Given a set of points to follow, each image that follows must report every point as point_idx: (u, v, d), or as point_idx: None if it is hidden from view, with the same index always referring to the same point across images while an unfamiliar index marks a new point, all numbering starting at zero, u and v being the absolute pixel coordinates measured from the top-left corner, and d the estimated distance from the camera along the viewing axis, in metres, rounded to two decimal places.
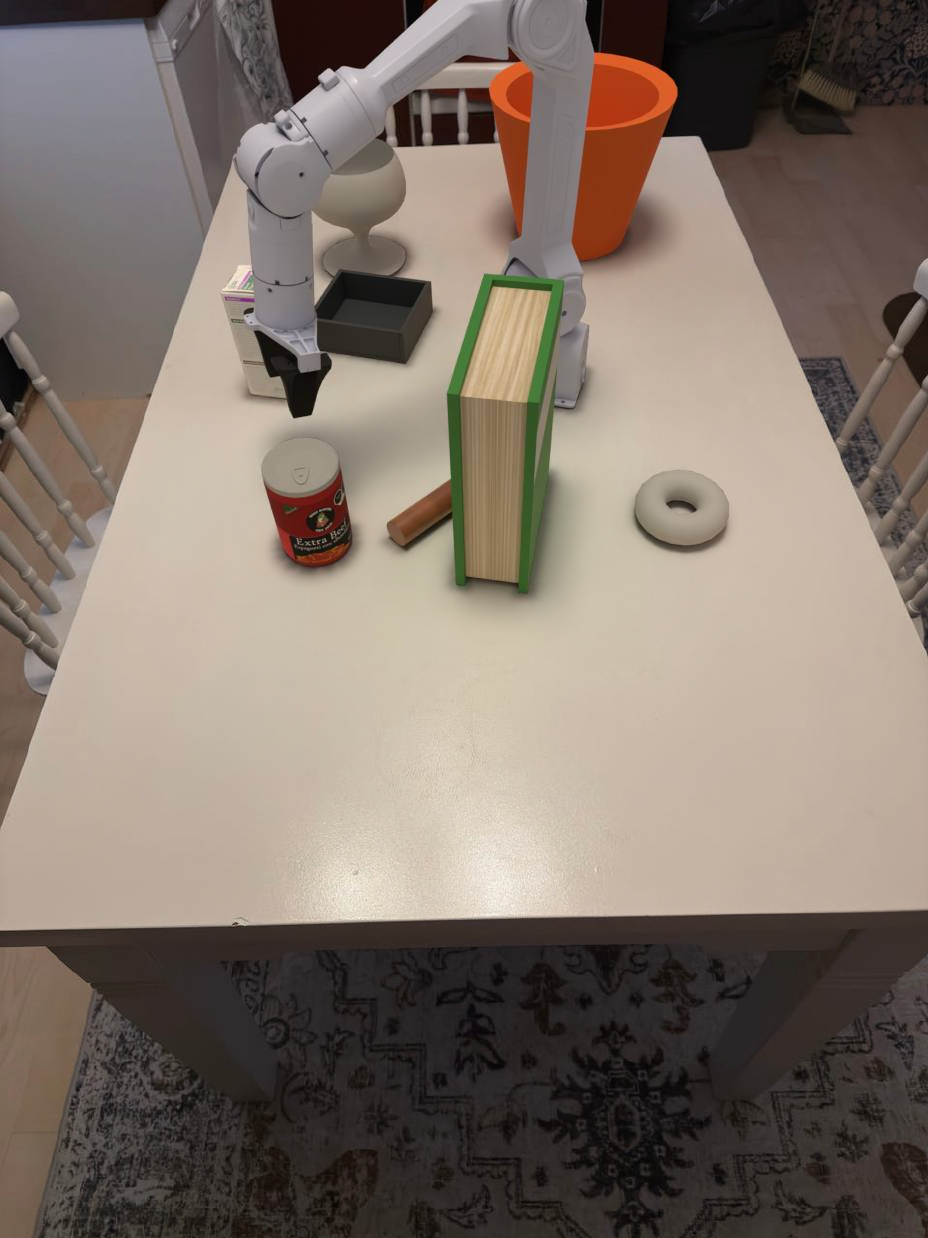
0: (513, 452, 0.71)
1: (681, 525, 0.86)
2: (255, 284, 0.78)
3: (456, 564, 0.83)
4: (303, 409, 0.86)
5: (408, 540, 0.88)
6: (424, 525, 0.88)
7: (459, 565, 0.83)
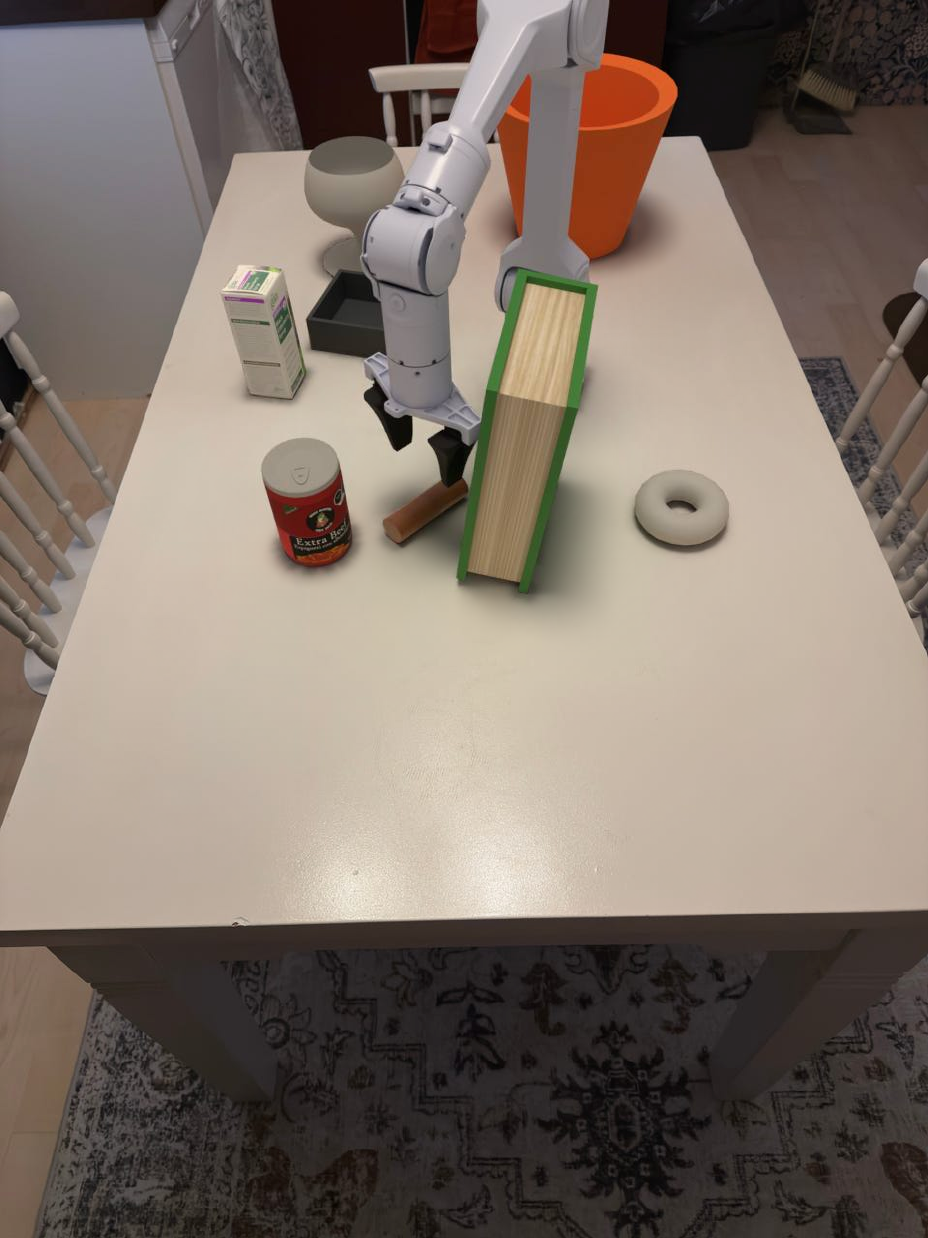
0: (540, 454, 0.71)
1: (681, 525, 0.86)
2: (398, 371, 0.73)
3: (460, 558, 0.82)
4: (456, 476, 0.82)
5: (403, 533, 0.88)
6: (418, 517, 0.88)
7: (463, 560, 0.82)
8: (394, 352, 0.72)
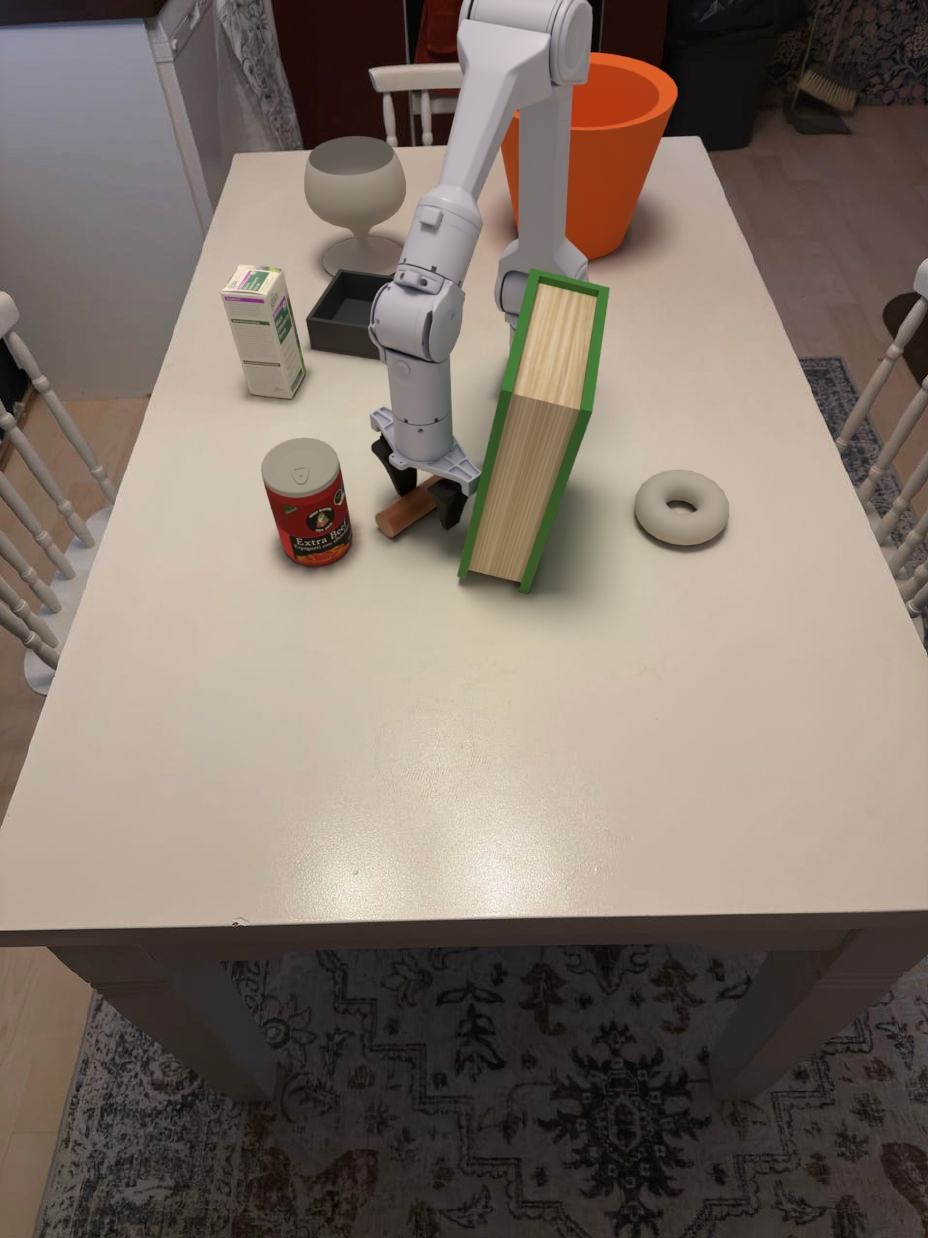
0: (550, 455, 0.71)
1: (681, 525, 0.86)
2: (402, 428, 0.78)
3: (463, 557, 0.82)
4: (454, 520, 0.87)
5: (390, 518, 0.88)
6: (403, 503, 0.89)
7: (466, 559, 0.82)
8: (399, 411, 0.77)
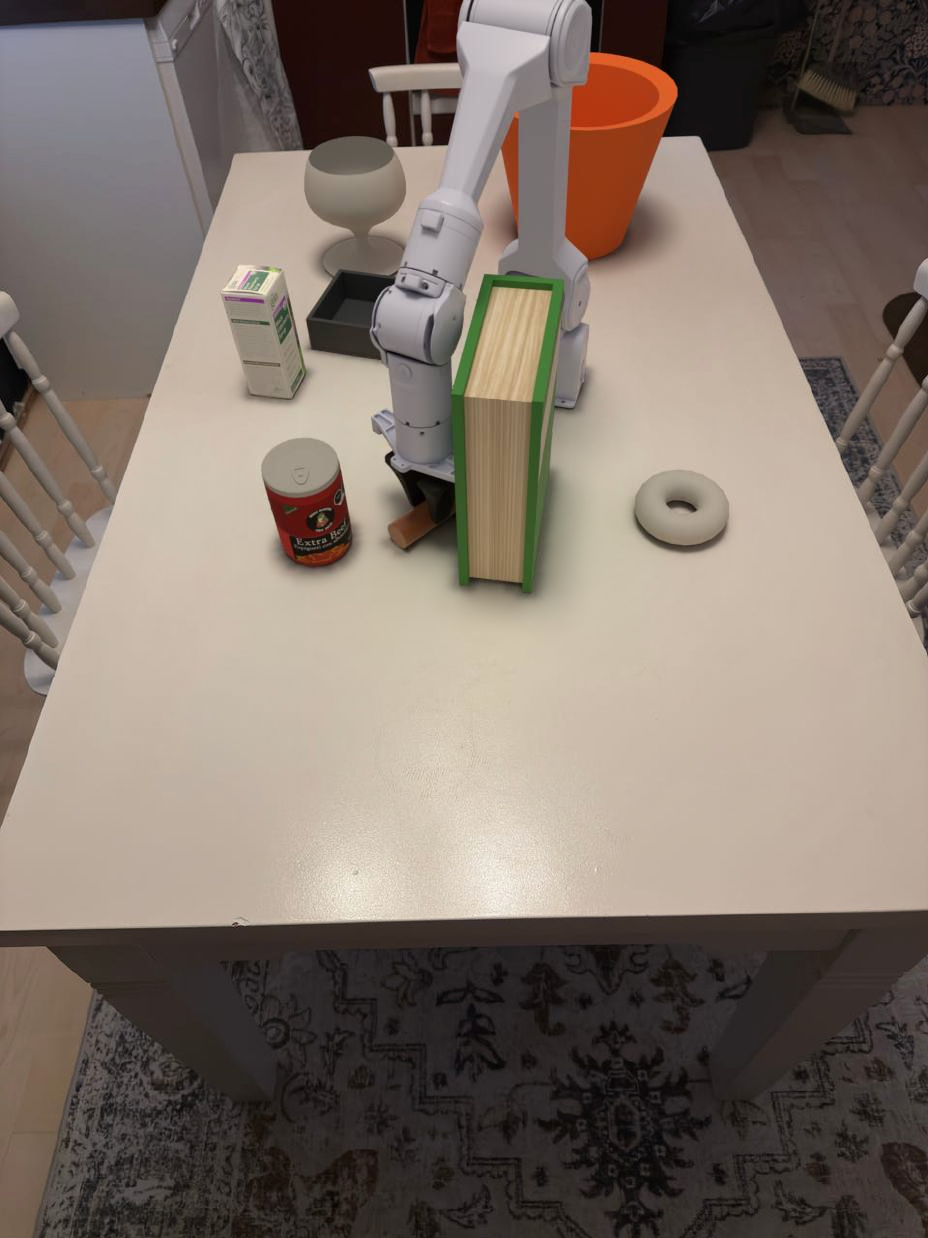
0: (517, 452, 0.71)
1: (681, 525, 0.86)
2: (404, 431, 0.78)
3: (460, 565, 0.83)
4: (444, 514, 0.88)
5: (406, 533, 0.87)
6: (419, 517, 0.88)
7: (463, 566, 0.83)
8: (400, 414, 0.77)
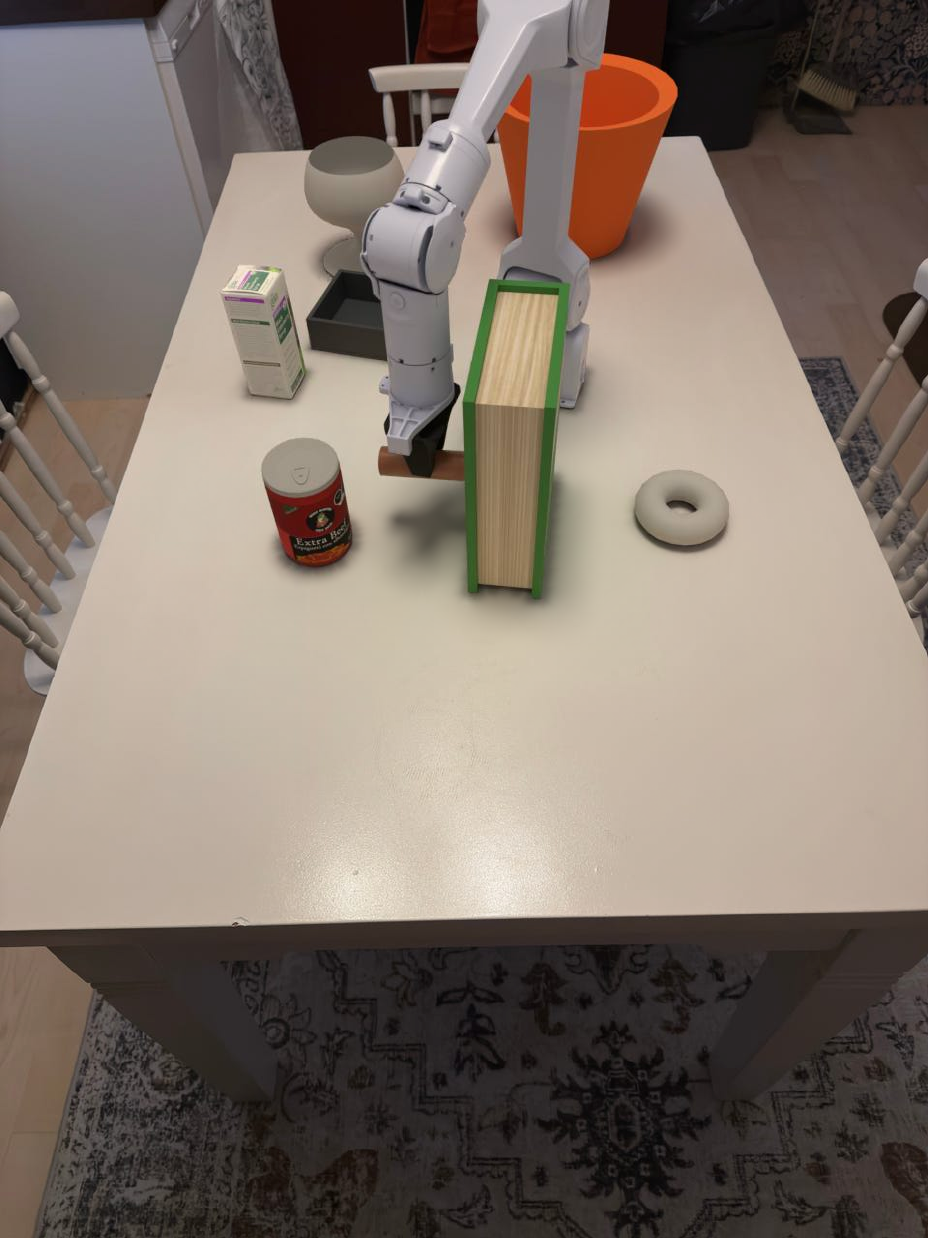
0: (528, 458, 0.71)
1: (681, 525, 0.86)
2: None
3: (469, 572, 0.83)
4: (420, 469, 0.83)
5: (382, 460, 0.84)
6: None
7: (472, 573, 0.83)
8: (394, 350, 0.72)
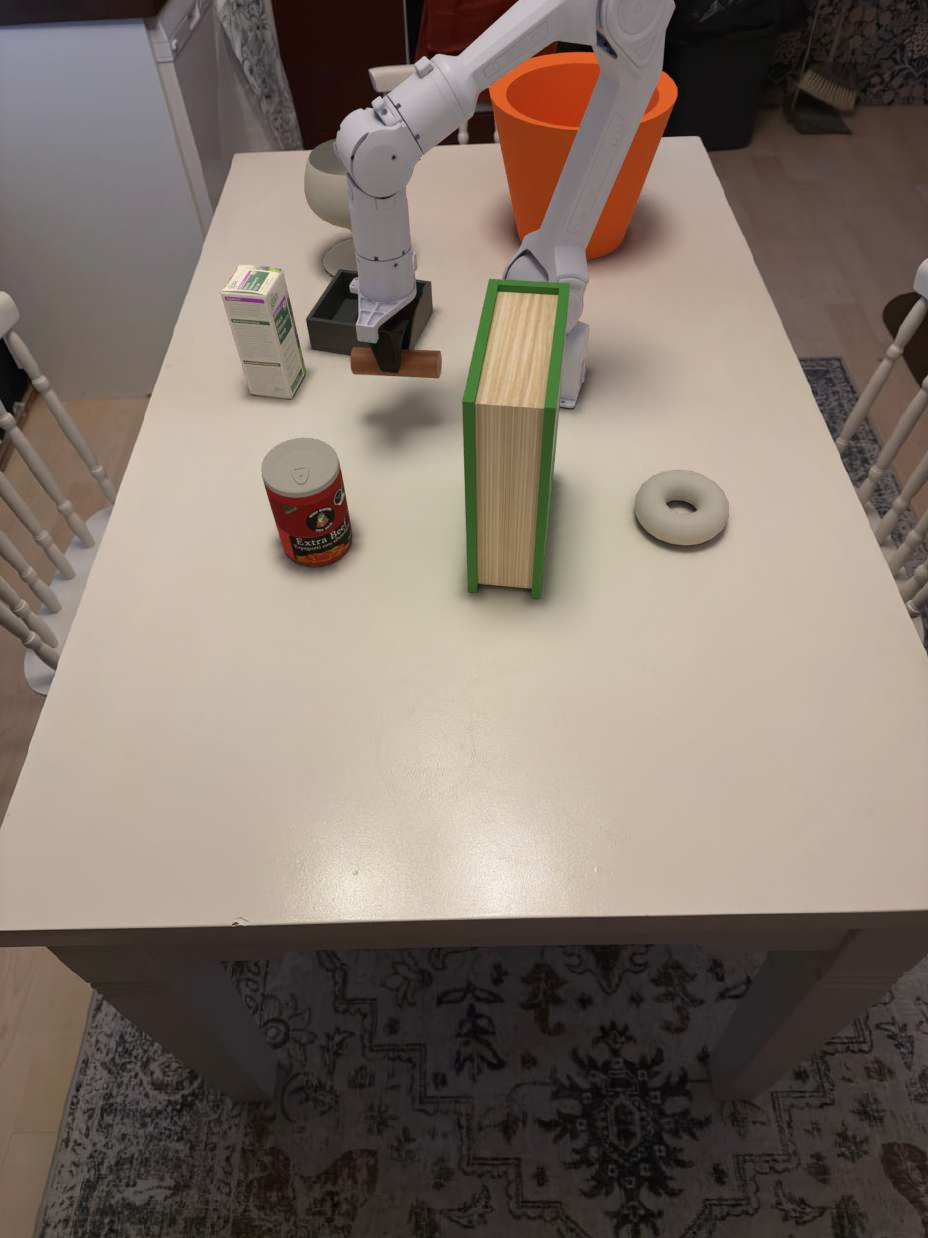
0: (528, 458, 0.71)
1: (681, 525, 0.86)
2: None
3: (468, 572, 0.83)
4: (388, 365, 0.93)
5: (354, 358, 0.94)
6: None
7: (472, 573, 0.83)
8: (353, 238, 0.83)
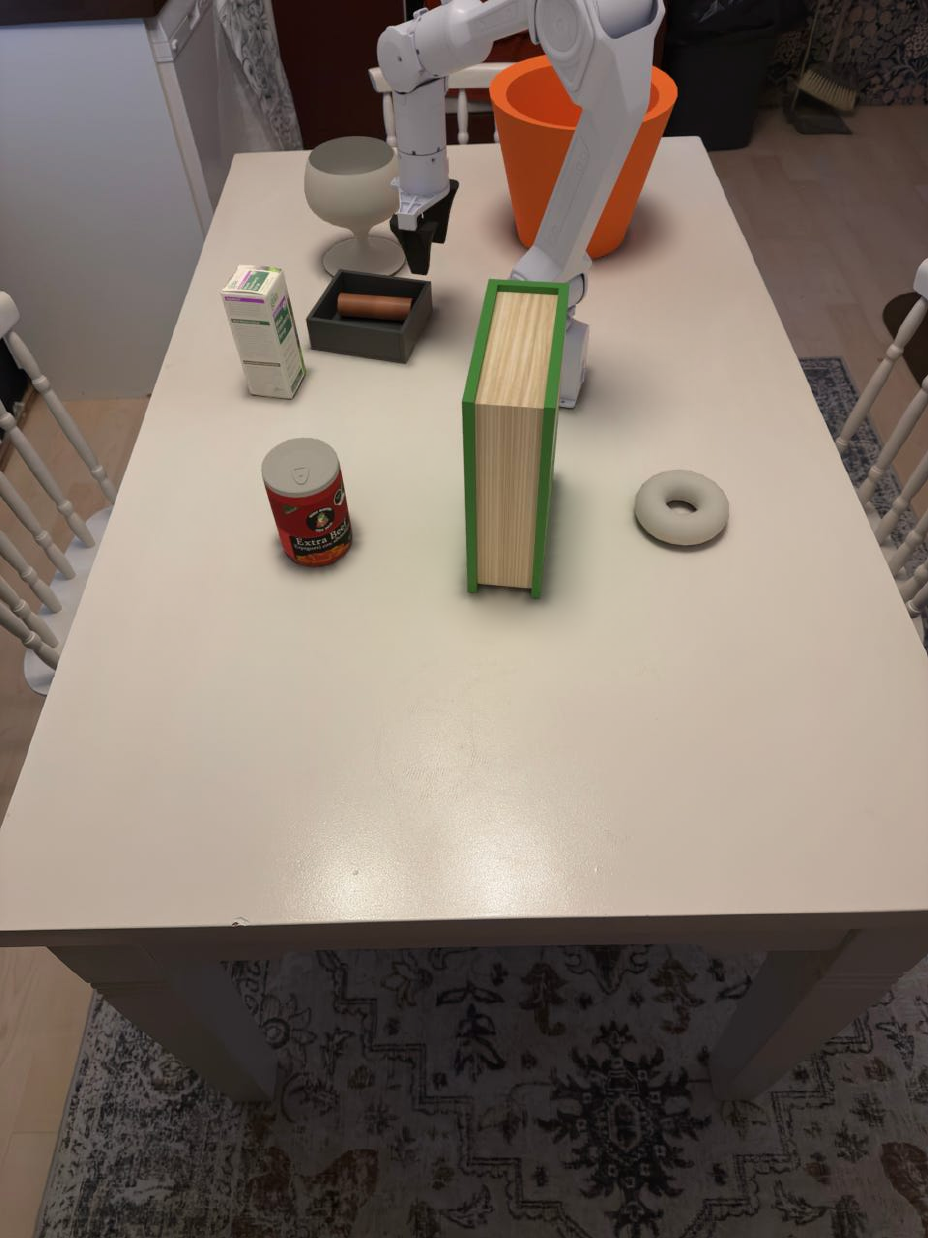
0: (527, 458, 0.71)
1: (681, 525, 0.86)
2: None
3: (468, 572, 0.83)
4: (418, 267, 1.03)
5: (344, 293, 1.13)
6: None
7: (471, 573, 0.83)
8: None
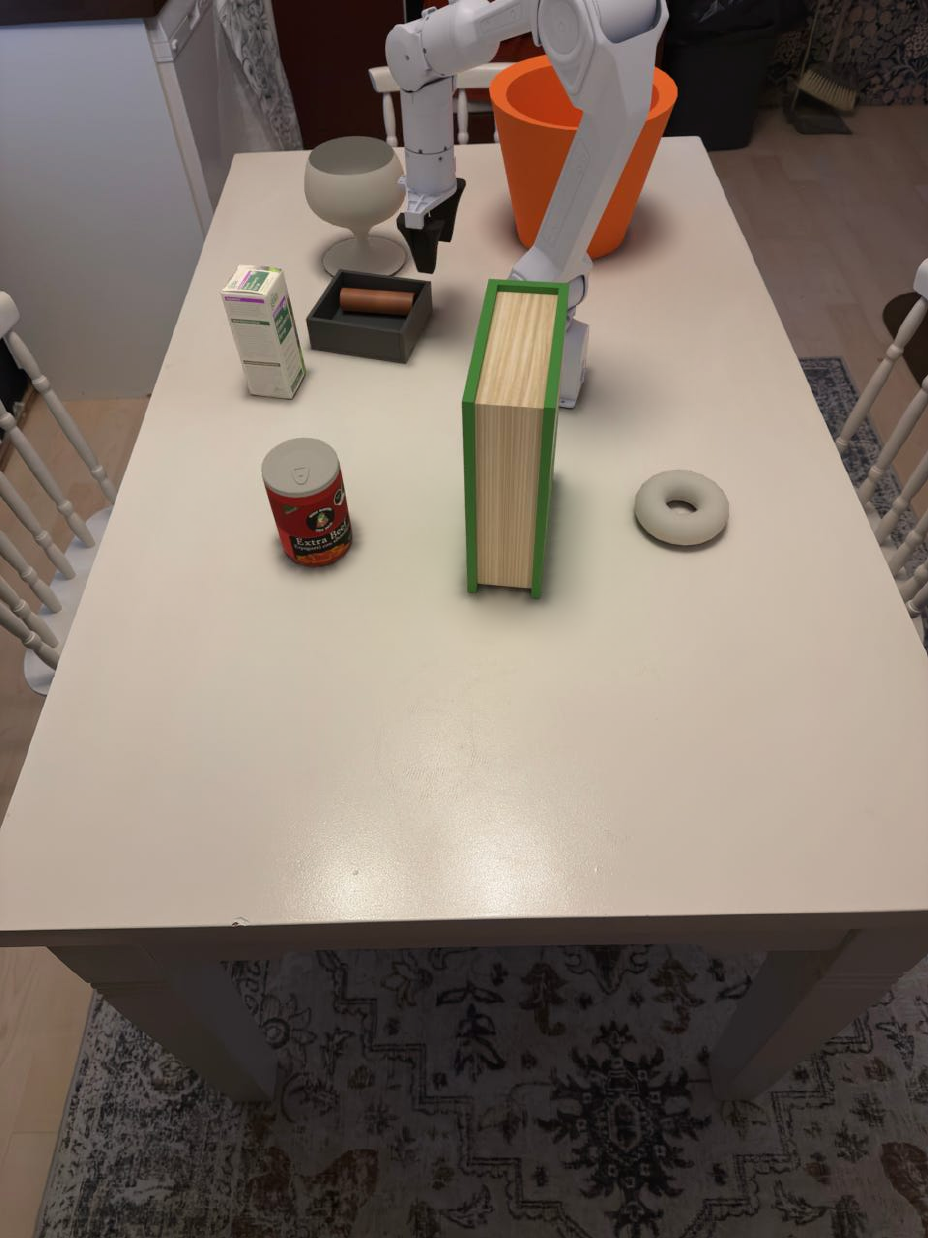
0: (527, 458, 0.71)
1: (681, 525, 0.86)
2: None
3: (468, 572, 0.83)
4: (425, 266, 1.03)
5: None
6: None
7: (471, 573, 0.83)
8: None
